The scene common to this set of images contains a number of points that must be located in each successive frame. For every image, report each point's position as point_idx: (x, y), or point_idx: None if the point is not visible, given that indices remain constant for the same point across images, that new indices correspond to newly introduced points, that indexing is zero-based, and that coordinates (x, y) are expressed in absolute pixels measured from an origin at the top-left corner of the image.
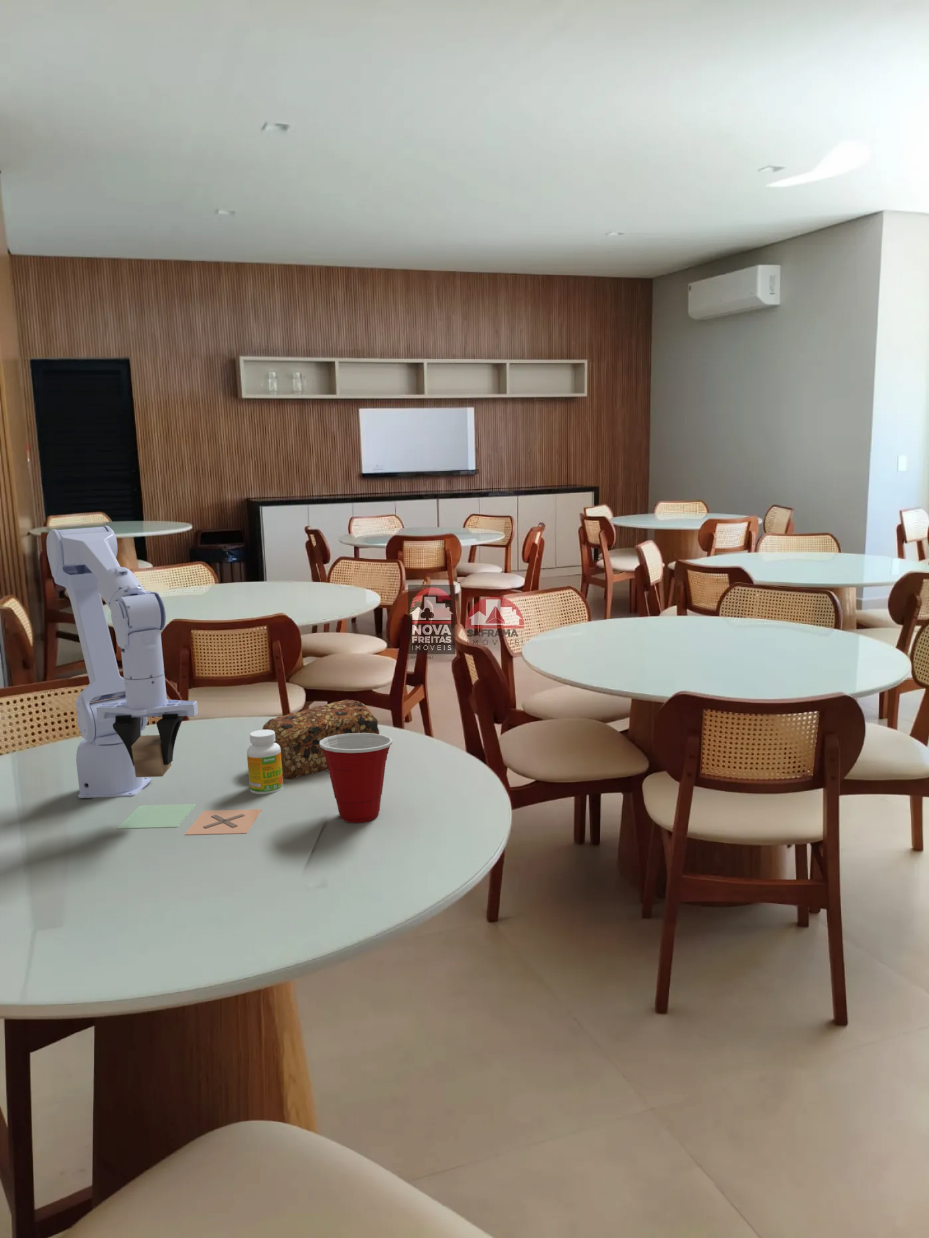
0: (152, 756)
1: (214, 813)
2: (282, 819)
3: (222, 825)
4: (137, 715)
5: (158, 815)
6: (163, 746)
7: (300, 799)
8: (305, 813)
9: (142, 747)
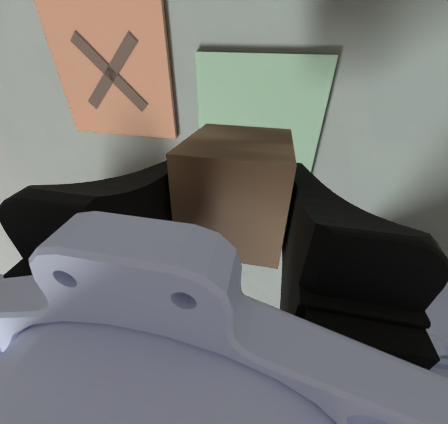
0: (213, 143)
1: (149, 122)
2: (26, 86)
3: (103, 48)
4: (147, 220)
5: (256, 126)
6: (163, 171)
7: (53, 173)
8: (8, 111)
9: (242, 157)
